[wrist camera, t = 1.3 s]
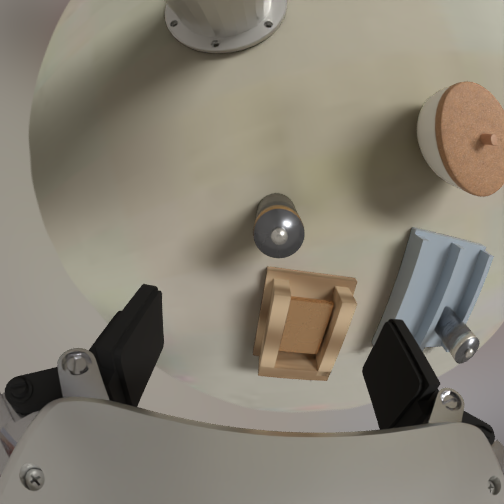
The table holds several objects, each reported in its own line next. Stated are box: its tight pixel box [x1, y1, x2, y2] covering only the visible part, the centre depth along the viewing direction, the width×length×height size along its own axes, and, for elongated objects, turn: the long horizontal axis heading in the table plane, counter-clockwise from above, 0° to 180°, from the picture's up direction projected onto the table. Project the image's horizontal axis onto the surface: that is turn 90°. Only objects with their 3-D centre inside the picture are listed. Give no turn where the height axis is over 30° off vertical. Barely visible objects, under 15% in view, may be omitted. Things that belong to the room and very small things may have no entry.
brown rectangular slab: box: [279, 296, 334, 354], centre depth 29 cm, size 7×5×1 cm, turn 173°
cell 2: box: [434, 306, 479, 364], centre depth 26 cm, size 4×4×8 cm
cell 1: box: [253, 193, 304, 258], centre depth 24 cm, size 4×4×8 cm
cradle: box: [253, 267, 357, 381], centre depth 30 cm, size 12×10×4 cm
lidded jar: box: [417, 82, 504, 196], centre depth 19 cm, size 11×11×9 cm
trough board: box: [372, 227, 494, 352], centre depth 28 cm, size 16×13×3 cm
